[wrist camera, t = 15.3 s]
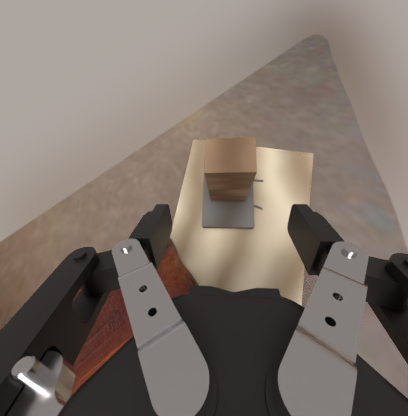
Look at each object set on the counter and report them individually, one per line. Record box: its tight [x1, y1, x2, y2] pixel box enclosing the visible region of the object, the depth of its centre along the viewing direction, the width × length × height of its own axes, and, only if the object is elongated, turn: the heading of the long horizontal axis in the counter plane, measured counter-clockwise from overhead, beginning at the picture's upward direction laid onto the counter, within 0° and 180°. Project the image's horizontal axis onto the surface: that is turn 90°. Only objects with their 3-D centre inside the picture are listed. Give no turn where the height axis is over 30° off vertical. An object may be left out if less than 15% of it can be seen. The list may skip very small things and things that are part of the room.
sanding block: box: [202, 137, 257, 229], centre depth 19 cm, size 6×9×10 cm, turn 178°
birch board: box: [170, 139, 313, 306], centre depth 23 cm, size 16×24×2 cm, turn 169°
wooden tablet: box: [70, 238, 199, 397], centre depth 21 cm, size 27×10×2 cm, turn 128°
